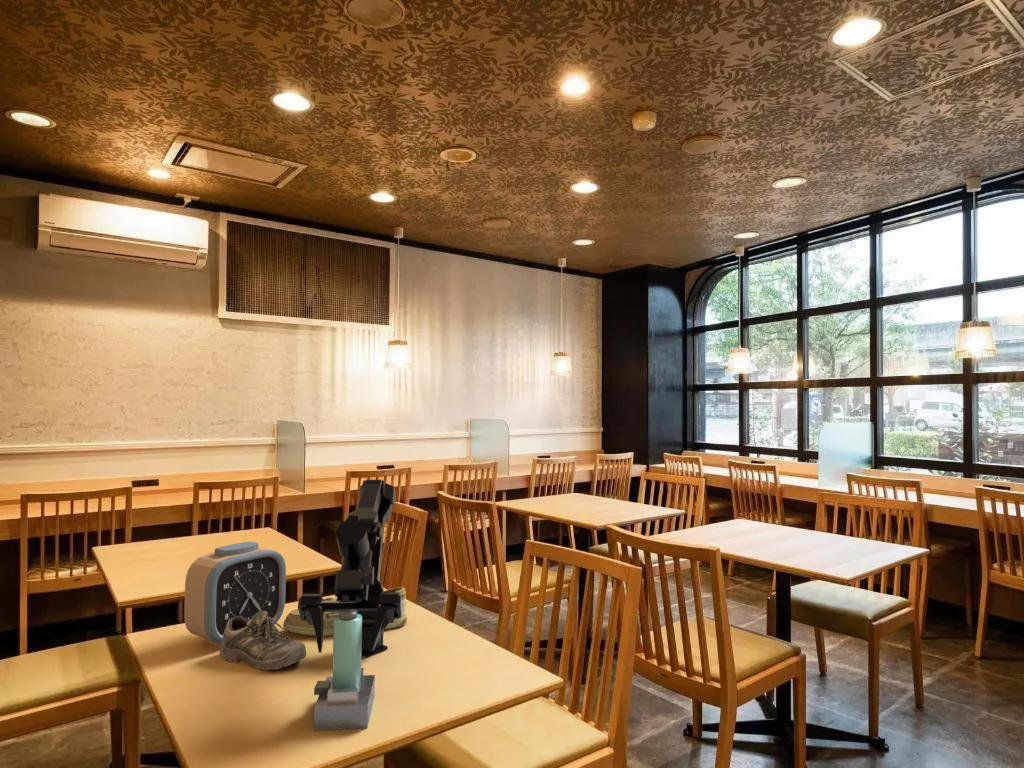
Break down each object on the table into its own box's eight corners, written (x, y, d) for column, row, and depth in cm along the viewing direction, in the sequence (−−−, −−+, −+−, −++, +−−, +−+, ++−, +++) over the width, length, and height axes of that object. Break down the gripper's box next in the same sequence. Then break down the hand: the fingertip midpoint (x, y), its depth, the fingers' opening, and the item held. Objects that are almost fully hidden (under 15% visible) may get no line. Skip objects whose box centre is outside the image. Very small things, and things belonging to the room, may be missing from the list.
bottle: (341, 682, 118) (343, 606, 119) (365, 685, 117) (367, 609, 117) (326, 693, 114) (328, 615, 114) (351, 697, 112) (353, 617, 113)
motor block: (321, 698, 121) (322, 667, 121) (374, 696, 122) (375, 665, 122) (308, 730, 109) (309, 696, 109) (367, 728, 110) (368, 694, 110)
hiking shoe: (283, 669, 129) (298, 608, 135) (201, 666, 135) (220, 607, 141) (309, 676, 136) (323, 618, 142) (231, 673, 142) (246, 617, 149)
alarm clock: (208, 656, 140) (210, 557, 140) (183, 646, 145) (185, 551, 145) (285, 628, 157) (287, 540, 158) (261, 621, 162) (263, 536, 163)
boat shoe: (283, 627, 159) (283, 589, 159) (401, 615, 169) (402, 580, 169) (282, 643, 148) (283, 602, 149) (409, 629, 158) (410, 591, 159)
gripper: (300, 551, 119) (285, 631, 108) (401, 549, 121) (396, 628, 110) (308, 581, 126) (294, 660, 115) (403, 579, 129) (399, 656, 117)
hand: (345, 650), depth 114 cm, fingers open, 9 cm apart
